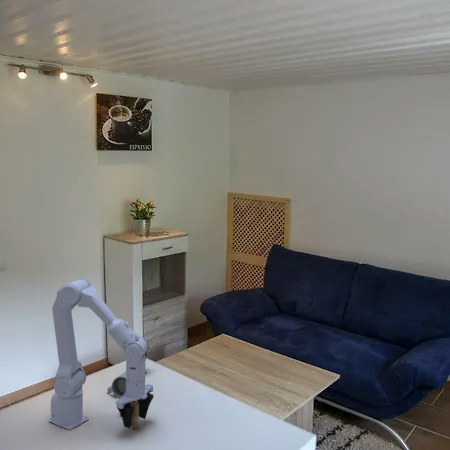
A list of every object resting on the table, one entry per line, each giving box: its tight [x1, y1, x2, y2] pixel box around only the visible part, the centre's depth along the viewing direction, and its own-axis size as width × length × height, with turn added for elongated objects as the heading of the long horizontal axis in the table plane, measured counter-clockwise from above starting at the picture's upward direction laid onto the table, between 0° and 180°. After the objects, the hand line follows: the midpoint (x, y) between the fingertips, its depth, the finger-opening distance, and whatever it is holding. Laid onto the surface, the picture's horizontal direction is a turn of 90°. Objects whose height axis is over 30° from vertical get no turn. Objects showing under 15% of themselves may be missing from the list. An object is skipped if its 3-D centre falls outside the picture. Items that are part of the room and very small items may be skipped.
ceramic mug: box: [106, 371, 126, 399], centre depth 170 cm, size 11×8×8 cm
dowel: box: [130, 402, 140, 430], centre depth 146 cm, size 2×2×8 cm
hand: (135, 422), depth 146 cm, fingers open, 6 cm apart
